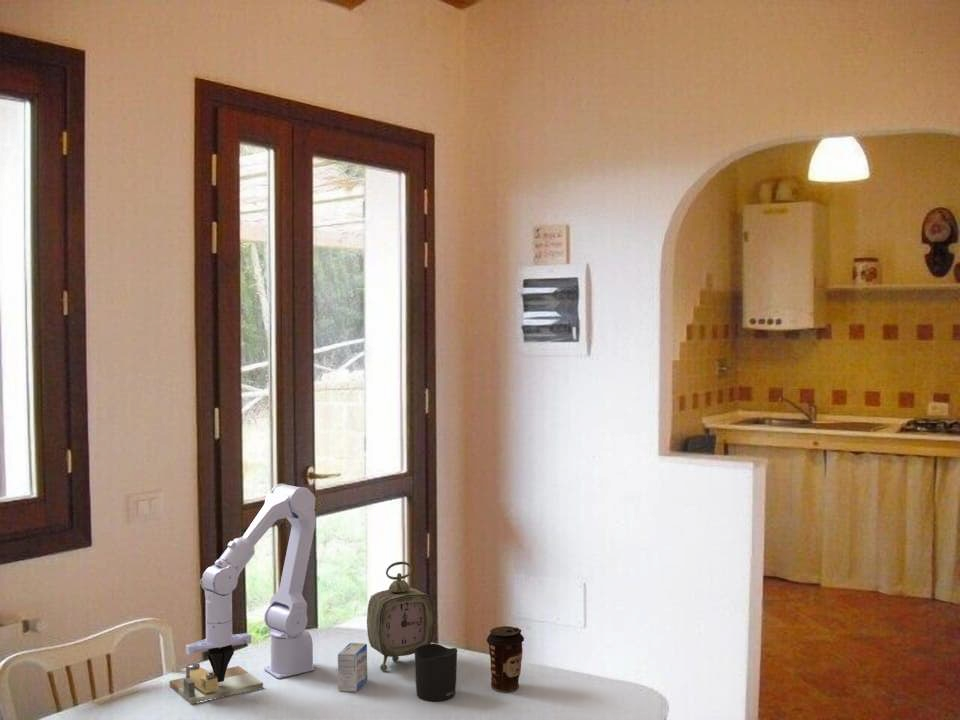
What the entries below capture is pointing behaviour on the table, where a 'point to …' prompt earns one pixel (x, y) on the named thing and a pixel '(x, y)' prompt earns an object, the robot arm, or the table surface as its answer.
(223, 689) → the metal latch base plate
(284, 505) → the robot arm
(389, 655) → the tabletop clock
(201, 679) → the latch bar
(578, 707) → the table surface
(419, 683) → the pen holder
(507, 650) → the coffee cup
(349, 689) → the medicine box
